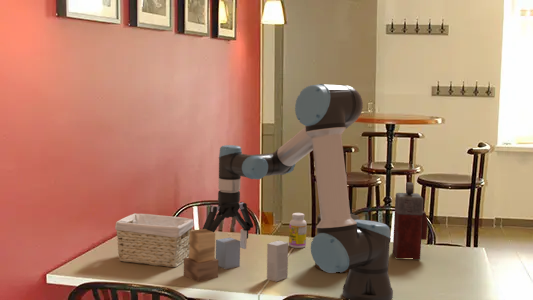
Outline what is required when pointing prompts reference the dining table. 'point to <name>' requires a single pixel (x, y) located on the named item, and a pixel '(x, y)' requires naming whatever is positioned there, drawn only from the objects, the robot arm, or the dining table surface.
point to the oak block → (202, 245)
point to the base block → (200, 269)
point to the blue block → (228, 253)
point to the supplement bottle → (297, 231)
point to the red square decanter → (409, 224)
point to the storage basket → (153, 239)
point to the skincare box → (277, 260)
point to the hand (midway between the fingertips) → (227, 250)
